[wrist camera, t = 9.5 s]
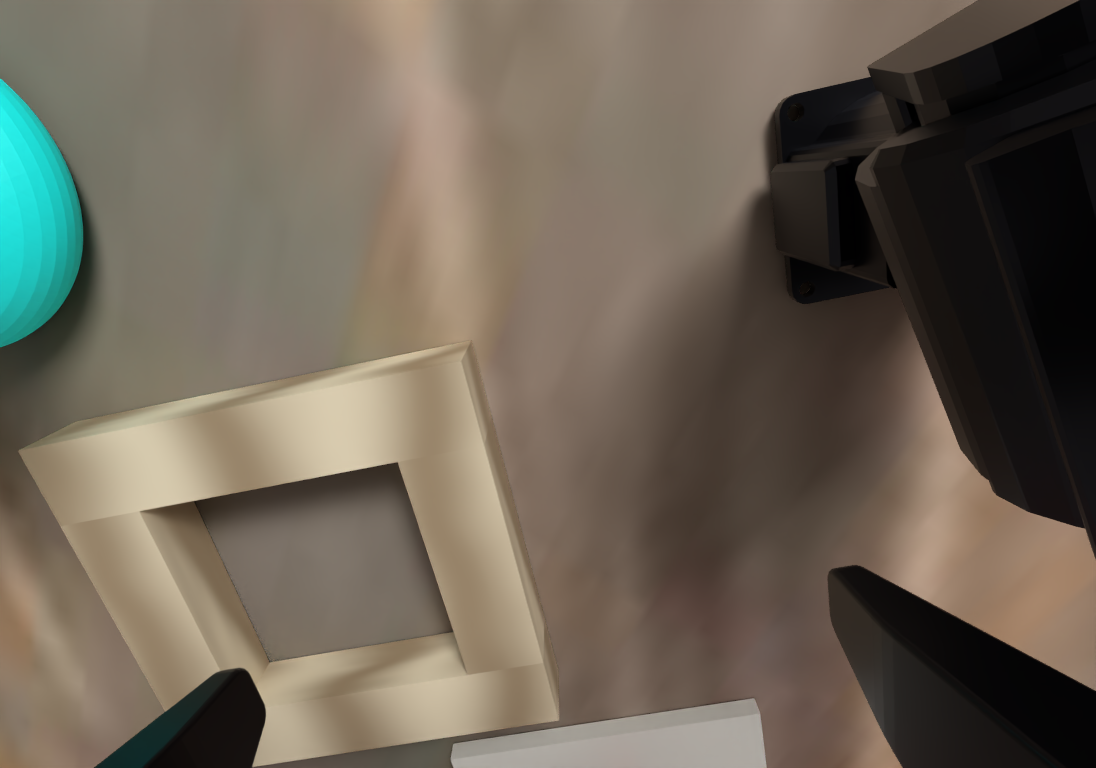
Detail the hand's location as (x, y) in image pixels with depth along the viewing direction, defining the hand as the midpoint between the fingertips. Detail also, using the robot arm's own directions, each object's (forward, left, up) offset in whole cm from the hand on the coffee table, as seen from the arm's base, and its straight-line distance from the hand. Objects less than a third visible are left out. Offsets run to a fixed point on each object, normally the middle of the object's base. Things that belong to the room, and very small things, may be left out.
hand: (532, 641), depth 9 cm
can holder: (+10, +6, -13) cm, 17 cm away
